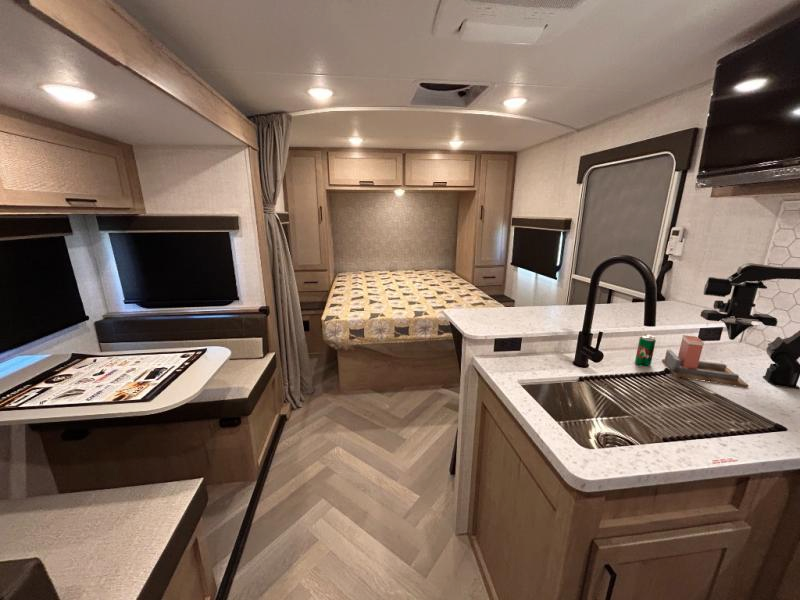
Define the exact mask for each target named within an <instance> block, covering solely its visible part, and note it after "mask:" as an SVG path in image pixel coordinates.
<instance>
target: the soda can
mask: <svg viewBox="0 0 800 600" xmlns="http://www.w3.org/2000/svg"><path fill="white" fill-rule="evenodd" d="M656 341H657V340H656V337H655V336H654V335H652V334H641V336H640V337H639V340H638V344H637V345H638V346H637V349H636V354H635V358H634V359H635V361H634V362H635V364H636V363H637V364H636V365H638V366H640V365H641V367H645V366H646V367H649V366H651V365H652V360H653V356H654V355H653V354H654V351H655V346H656V343H657V342H656Z"/></svg>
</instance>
